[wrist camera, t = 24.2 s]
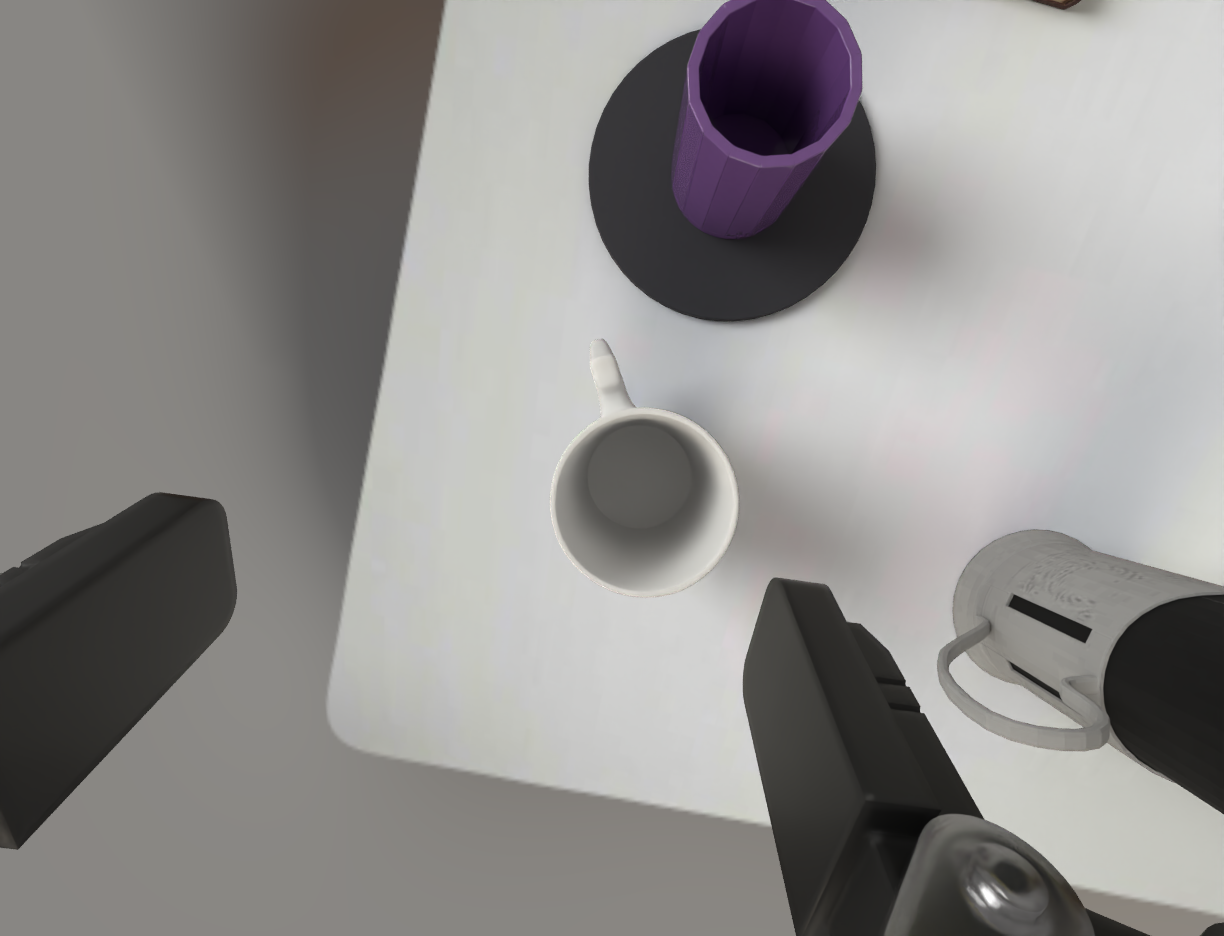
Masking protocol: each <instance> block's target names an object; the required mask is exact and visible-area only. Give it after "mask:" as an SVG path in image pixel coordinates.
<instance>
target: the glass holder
mask: <svg viewBox="0 0 1224 936" xmlns="http://www.w3.org/2000/svg"><path fill="white" fill-rule="evenodd" d="M953 620H954V626H955V630H956V633H957V638H956V639H954V640H953V641H951V642H950V643H948V644H947V645H946V646H944V647H943V648H942V649H941V650H940V652H939V655H938V661H937V671H938V677H939V682H940V685H941V686H942V688H943V690H944V691H945V693H946V695H947V696H948V698H949V699H950V700H951V701H952V702H953V703H954V704H955V705H956V706H957V707H958V708H959V709H960V710H961V711H962V712H963V713H964V714H965V715H966V716H967V717H968V718H970V719H971V720H973V721H974V722H976V723H977V724H979V725H980V726H981V727H983V728H984V729H986V730H988V731H990V732H992V733H995V734H997V735H999V736H1002V737H1004V738H1006V739H1009V740H1011V741H1015V742H1019V743H1022V744H1026V745H1030V746H1034V747H1038V748H1045V749H1053V750H1060V751H1088V750H1093V749H1098V748H1100V747H1102V746H1103V745H1104V744H1105V743H1108V744H1110V745H1111V746H1113V747H1114V748H1116V749H1117V750H1119V751H1120V752H1122V753H1123V754H1125V755H1126V756H1128V757H1129V758H1131V759H1132V760H1134V761H1135V762H1137V763H1138V764H1140V765H1141V766H1143V767H1144V768H1146V769H1148V770H1149V771H1151V772H1152V773H1154V774H1156V775H1158V776H1161V777H1163V778H1165V779H1167V780H1169V781H1171V782H1174V783H1177V784H1178V785H1180V786H1181V787H1183V788H1185V789H1186V790H1188V791H1189V792H1191V793H1192V794H1194V795H1195V796H1197V797H1198V798H1200V799H1201V800H1203V801H1204V802H1206V803H1207V804H1209V805H1210V806H1212V807H1213V808H1215V809H1216V810H1218V811H1220V812H1221V813H1223V814H1224V586H1220V585H1216V584H1213V583H1209V582H1205V581H1202V580H1198V579H1194V578H1191V577H1187V576H1183V575H1180V574H1176V573H1172V572H1169V571H1165V570H1162V569H1158V568H1154V567H1151V566H1147V565H1143V564H1140V563H1136V562H1132V561H1129V560H1125V559H1121V558H1118V557H1114V556H1110V555H1107V554H1103V553H1099V552H1096V551H1092V550H1091V549H1090V548H1088V547H1087V546H1086V545H1084V544H1082V543H1081V542H1079V541H1078V540H1076V539H1074V538H1071V537H1069V536H1067V535H1064V534H1062V533H1058V532H1053V531H1049V530H1027V531H1019V532H1016V533H1012V534H1009V535H1006V536H1004V537H1002V538H1000V539H998V540H995V541H993V542H992V543H991V544H989V545H988V546H986V547H985V548H983V549H982V550H981V551H980V552H979V553H978V554H977V555H976V556H975V557H974V558H973V559H972V560H971V561H970V563H969V564H968V566H967V567H966V568H965V570H964V571H963V573H962V575H961V577H960V580H959V582H958V584H957V587H956V591H955V595H954V601H953ZM964 651H965V652H966V653H967V654H968V656H969V657H970V658H971V660H972V661H974V662H975V663H976V664H977V665H978V666H979V667H980V668H981V669H983V670H984V671H986V672H987V673H989V674H990V675H992V676H994V677H996V678H999V679H1001V680H1003V681H1006V682H1009V683H1014V684H1018V685H1021V686H1023V687H1024V688H1026V689H1027V690H1029V691H1030V692H1032V693H1033V694H1035V695H1036V696H1038V697H1039V698H1041V699H1042V700H1044V701H1045V702H1047V703H1048V704H1050V705H1051V706H1053V707H1054V708H1056V709H1057V710H1059V711H1060V712H1062V713H1063V714H1065V715H1066V716H1068V717H1069V718H1071V719H1072V720H1074V721H1075V722H1077V723H1078V724H1080V725H1081V726H1083V727H1084V728H1080V729H1059V728H1051V727H1043V726H1036V725H1032V724H1028V723H1023V722H1019V721H1015V720H1012V719H1010V718H1007V717H1005V716H1002V715H1000V714H997V713H995V712H993V711H991V710H989V709H988V708H986V707H985V706H983V705H982V704H980V703H978V702H977V701H975V700H974V699H972V698H971V697H970V696H969V695H968V694H967V693H966V692H965V691H964V690H963V689H962V688H961V687H960V686H959V685H958V684H957V683H956V682H955V681H954V679H953V678H952V676H951V674H950V673H949V669H948V668H949V664H950V663H951V662H952V661H953V660H954V659H955V658H956V657H958V656H959V655H960V654H961V653H963V652H964Z"/></svg>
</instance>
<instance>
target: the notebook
mask: <svg viewBox="0 0 1224 936" xmlns="http://www.w3.org/2000/svg"><path fill="white" fill-rule="evenodd" d="M1033 1H1036V2H1040V3H1043V4H1046V5H1050V6H1053V7H1056V8H1060V9H1067V8H1069V7H1072V6H1074V5H1076V4H1077V3H1079V2H1080V1H1081V0H1033Z"/></svg>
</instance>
